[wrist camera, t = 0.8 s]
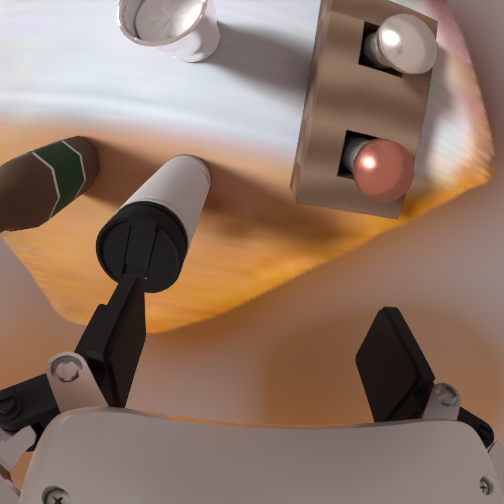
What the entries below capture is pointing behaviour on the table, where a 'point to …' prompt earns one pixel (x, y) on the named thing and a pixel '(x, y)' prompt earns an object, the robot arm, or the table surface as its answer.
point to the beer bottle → (45, 182)
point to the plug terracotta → (378, 167)
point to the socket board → (354, 106)
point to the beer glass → (171, 27)
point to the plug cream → (401, 45)
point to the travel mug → (156, 225)
